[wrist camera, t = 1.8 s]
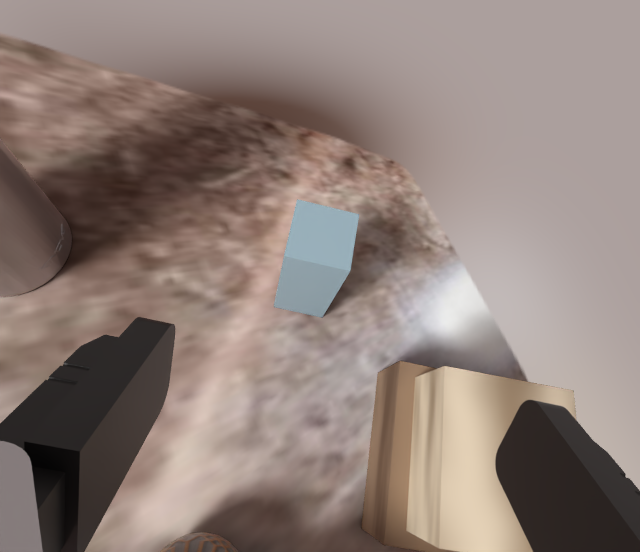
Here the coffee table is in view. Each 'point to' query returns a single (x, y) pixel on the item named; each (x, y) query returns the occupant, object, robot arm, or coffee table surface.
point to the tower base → (392, 459)
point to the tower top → (466, 458)
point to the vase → (200, 544)
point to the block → (316, 258)
